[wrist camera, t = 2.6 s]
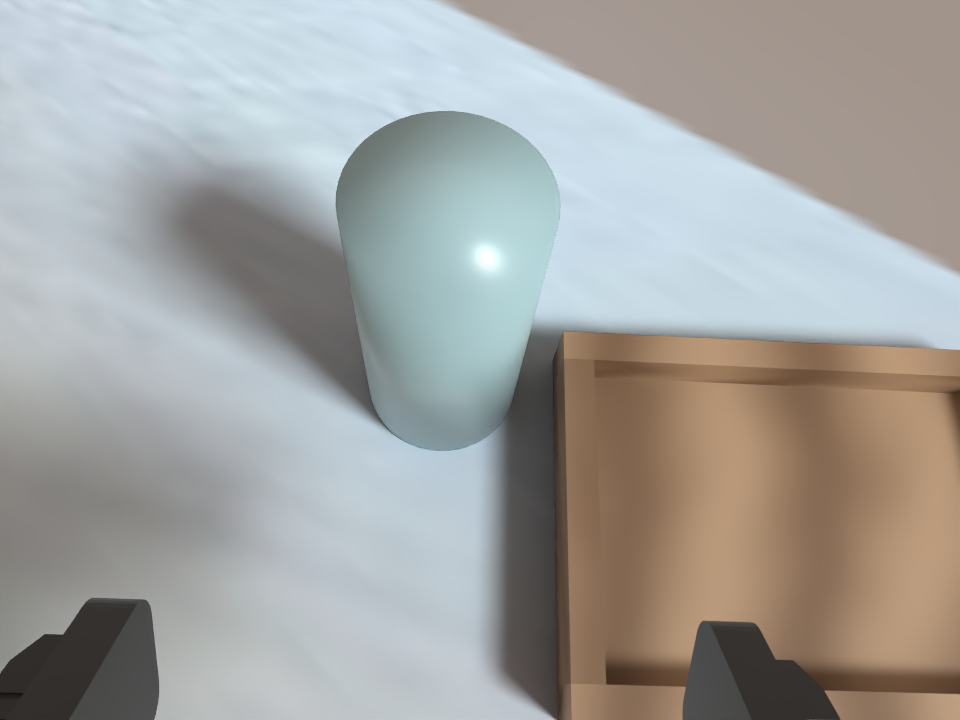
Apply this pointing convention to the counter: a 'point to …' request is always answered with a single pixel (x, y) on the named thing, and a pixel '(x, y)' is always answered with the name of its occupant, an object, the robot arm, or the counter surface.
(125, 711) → the robot arm
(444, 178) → the pale green capsule
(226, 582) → the counter surface
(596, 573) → the tray
